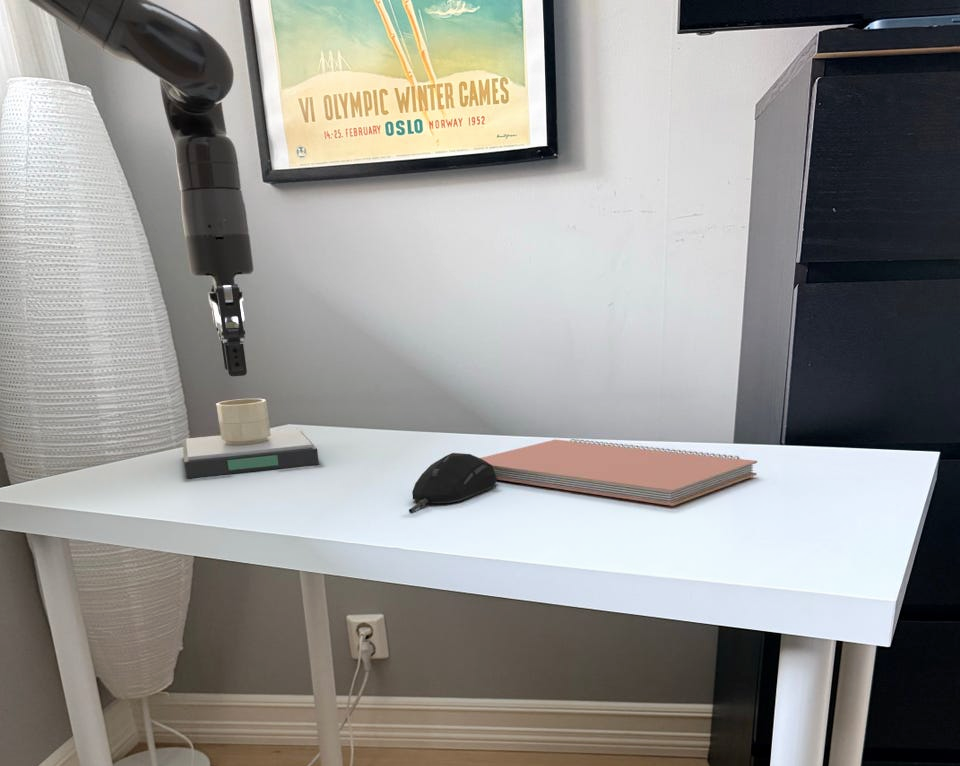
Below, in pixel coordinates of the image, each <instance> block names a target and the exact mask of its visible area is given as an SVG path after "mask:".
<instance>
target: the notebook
mask: <svg viewBox="0 0 960 766" xmlns="http://www.w3.org/2000/svg"><path fill="white" fill-rule="evenodd" d="M480 458H481V459H483V460H484V461H486V462H488V463H489V464H491V465H492V466H493V469H494V471H495V474H496V477H497V481H498V480H499V481H505V482H512V483H517V484H518V483H519V484H525V485H531V486H538V487H545V488H552V489H558V490H565V491H571V492H578V493H585V494H592V495H599V496H605V497H613V498H618V499H625V500H631V501H638V502H645V503H652V504H657V505H666V506H670V507H671V506H672V507H673V506H677V505H679V504H681V503H684V502H687V501H690V500H693V499H695V498H698V497H701V496H703V495H706V494H709V493H711V492H715V491H716V490H720V489H723V488H726V487H728V486H731V485H733V484H736V483H739V482H742V481H744V480H746V479H750V478H752V477H755V476H757V472H753V471H754V465H755V464H757V463H758V460H753V459H743V458H740V456H739V455H734V456H733V455H731V454H728V455H726V454H724V453H723V454H720V453H713V452H711V453H709V452H708V451H707V452H702V451H699V452H698V451H696V450H694V451H692V450H685V449H682V450H681V449H675V448H664V447H660V448H659V447H653V446H647V445H645V446H643V445H637V444H634V445H633V444H627V443H625V444H623V443H617V442H614V443H613V442H607V441H605V442H604V441H597V440H595V441H594V440H588V439H586V440H584V439H578V438H570V439H569V440H565V439H564V440H563V439H552V440H549V441H544V442H540V443H536V444H531V445H527V446H524V447H519V448H515V449H511V450H506V451H503V452H499V453H495V454H491V455H487V456H483V457H480Z"/></svg>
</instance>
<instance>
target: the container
mask: <svg viewBox="0 0 960 766" xmlns="http://www.w3.org/2000/svg"><path fill="white" fill-rule="evenodd" d="M267 405H268V403H267V400H266V399H265V398H240V399H239V398H238V399H228V400H224V401H219V402H217V403H215V406H216V414H217V419H218V426H219V433H220V435H221V439H222V440H223V441H225V443H226V444H229V445H247V444H255V443H260V442H264V441H267V440H268V438H267V437H269V436H271V434H270V431H271V428H270V420H269V411H268V406H267Z"/></svg>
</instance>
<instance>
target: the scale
mask: <svg viewBox="0 0 960 766" xmlns="http://www.w3.org/2000/svg"><path fill="white" fill-rule="evenodd" d="M270 434H271V436H269V437H267V438H268V440H267V441H264V442H260V443H255V444H247V445H229V444H226V443H225V441H223V440H222V439H221V434H220V435H210V436H199V437H190V438H189V437H188V438H185V441H183V442H182V452H183V463H184V469H185V470H184V471H185V476H186V479H196V478H205V477H215V476H224V475H233V474H242V473H252V472H261V471H271V470H280V469H289V468H297V467H299V468H300V467H307V466H317V465H320V462H319V451H318V448H317V447H316V446H315V445H314V444H313V442H312V441H311V439H309V438H308V436H306V435H305V434H304V433H303V431H302V430H300V429H299V428H298V427H294V428H293V427H291V428H282V429H281V428H280V429H272V430H271V429H270Z"/></svg>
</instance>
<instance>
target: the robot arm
mask: <svg viewBox="0 0 960 766" xmlns="http://www.w3.org/2000/svg"><path fill="white" fill-rule="evenodd" d="M28 1H29V2H30V3H32V5H33V4H34V5H35V6H36V7H38V8H39V9H41V10H42V11H44V12H45V13H47V14H48V15H50V16H51V17H53V18H54V19H56V20H57V21H59V22H60V23H62V24H63V25H64V26H66V27H67V28H69V29H70V30H71V31H73V32H75V33H76V34H78V36H80V37H82V38H83V39H85V40H86V41H88V42H89V43H91V44H92V45H94V46H95V47H97V48H98V49H100V50H102V52H104V53H106V55H107V54H108V55H109V56H110V57H112V58H114V59H116V60H118V61H120V62H123V63H133V64H136V65H138V66H140V67H142V68H143V69H144V70H146V71H148V72H150V73H151V74H153V75H154V76H156V77H157V78H159V87H160V93H161V99H162V104H163V108H164V112H165V116H166V119H167V120H166V121H167V124H168V127H169V128H168V129H169V132H170V135H171V138H172V142H173V144H174V149H175V150H174V151H175V161H176V170H177V177H178V184H179V190H180V201H181V203H180V205H181V207H180V209H181V219H182V226H183V231H184V232H183V233H184V239H185V240H184V241H185V246H186V254H187V260H188V267H189V272H190V274H191V275H192V276H193V277H210V278H211V279H212V283H213V284H212V285H211V288H210V291H211V292H207V296H208V303H209V307H210V309H211V313H212V320H213V325H214V327H216V329H215V330H216V332H217V337H218V338H219V341H220V346H221V353H222V359H223V367H224V369H225V370H226V371H227V373H228V375H229V376H230V377H243V376H246V375H247V373H248V369H247V362H246V354H245V348H244V343H245V340H246V330H245V329H244V328H245V326H246V318H245V311H244V305H245V302H244V294H243V291H241V290H240V287H239V285H238V283H235V277H236V276H241V275H243V276H244V275H251V274H253V272H254V261H253V253H252V252H253V251H252V245H251V238H250V229H249V221H248V213H247V207H246V204H245V200H244V195H243V191H242V182H241V172H240V166H239V165H240V164H239V157H238V153H237V148H236V145H235V143H234V142H233V140H232V139H231V138H230V137H229V136H228V132H227V127H226V126H227V125H226V122H225V121H226V120H225V115H224V110H223V101H224V100H225V99H226V98H227V97H228V96H229V94H230V93H231V91H232V88H233V84H234V81H235V80H234V78H235V73H234V66H233V64H232V61H231V58H230V56H229V54H228V52H227V51H226V50H225V48H224V47H223V45H222V44H220V43H219V41H218V40H216V38H215V37H214V36H212V35H211V34H209V32H207V31H206V30H204V29H203V28H201V27H200V26H198V25H197V24H195V23H193V22H191V21H190V20H188V19H187V18H184V17H182V16H180V15H179V14H177V13H175V12H174V11H172V10H170V9H168V8H165V7H163V6H162V5H159V4H157V3H155V2H152V1H151V0H28Z"/></svg>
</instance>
